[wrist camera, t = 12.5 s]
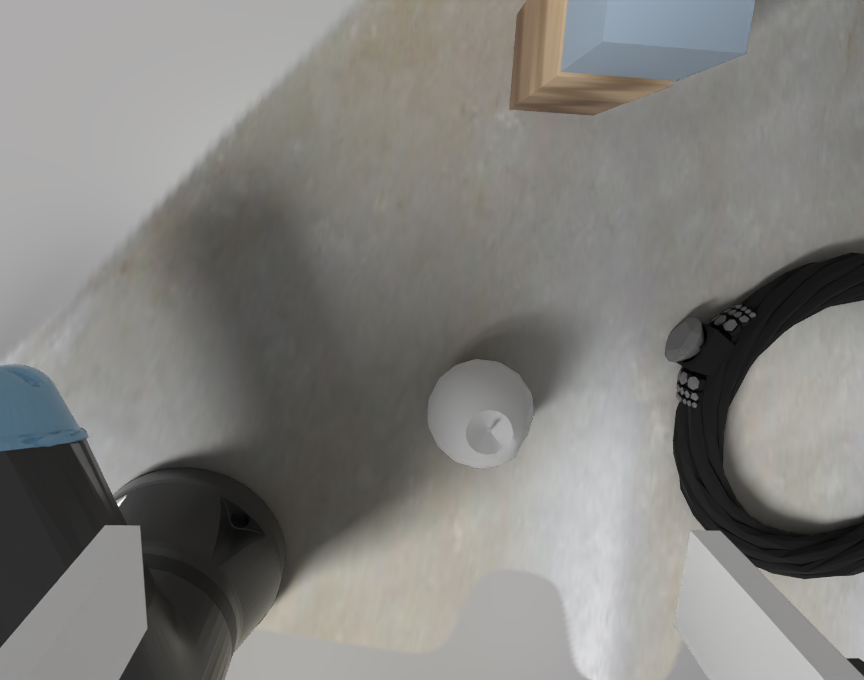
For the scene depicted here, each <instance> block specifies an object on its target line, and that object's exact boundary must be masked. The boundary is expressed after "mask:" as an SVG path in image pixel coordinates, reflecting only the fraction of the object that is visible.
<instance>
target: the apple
mask: <svg viewBox="0 0 864 680" xmlns="http://www.w3.org/2000/svg"><path fill="white" fill-rule="evenodd" d="M533 416H534V407H533V396H532V394H531V392H530V390H529V389H528V387H527V386H526V384H525V383H524V381H523V379H522V378H521V376H520V375H519V374H518V373H517V372H515V371H513V370H512V369H510V368H508V367H507V366H505V365H503V364H502V363H500V362H497V361H490V360H481V359H474V360H471V361H467V362H464V363H460V364H457V365H455V366H454V367H452V368H451V369H450V370H449V371H447V372H446V373H445V374H444V375H443V376H441V377H440V378H439V380H438V382H437V384H436V385H435V387H434V389H433V391H432V393H431V395H430V397H429V399H428V419H427V421H428V426H429V428H430V431H431V433H432V435H433V438H434V440H435V442H436V445H437V446H438V447H439V448H440V449H441V450H442V451H443V452H444V453H446V454H447V455H448V456H449V457H450V458H451V459H452V460H454V461H455V462H458V463H461V464H464V465H467V466H470V467H474V468H488V467H498V466H499V465H501V464H503V463H505V462H507V461H509V460H511V459H513V458H515V457H516V454H517V452H518V450H519V447H520V445H521V443H522V442H523V441H524V439H525V438H526V436H527V435H528V432H529V429H530V425H531V422H532V419H533Z"/></svg>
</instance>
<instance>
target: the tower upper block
mask: <svg viewBox="0 0 864 680" xmlns="http://www.w3.org/2000/svg"><path fill="white" fill-rule="evenodd" d="M567 2H568V0H538V3H537V14H536V25H535V36H534V47H533V58H532V69H531V80H530V92H529V96H540V97H553V98H567V99H580V100H594V101H607V102H621V103H628V102H630V101H633V100H635V99H638V98H641V97H643V96H646V95H648V94H651V93H654V92H656V91H659V90H661V89H664V88H667V87H669V86H672V85H673V81H669V80H657V79H644V78H631V77H619V76H606V75H593V74H581V73H568V72H560V71H561V61H562V51H563V41H564V31H565V21H566V12H567Z"/></svg>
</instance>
